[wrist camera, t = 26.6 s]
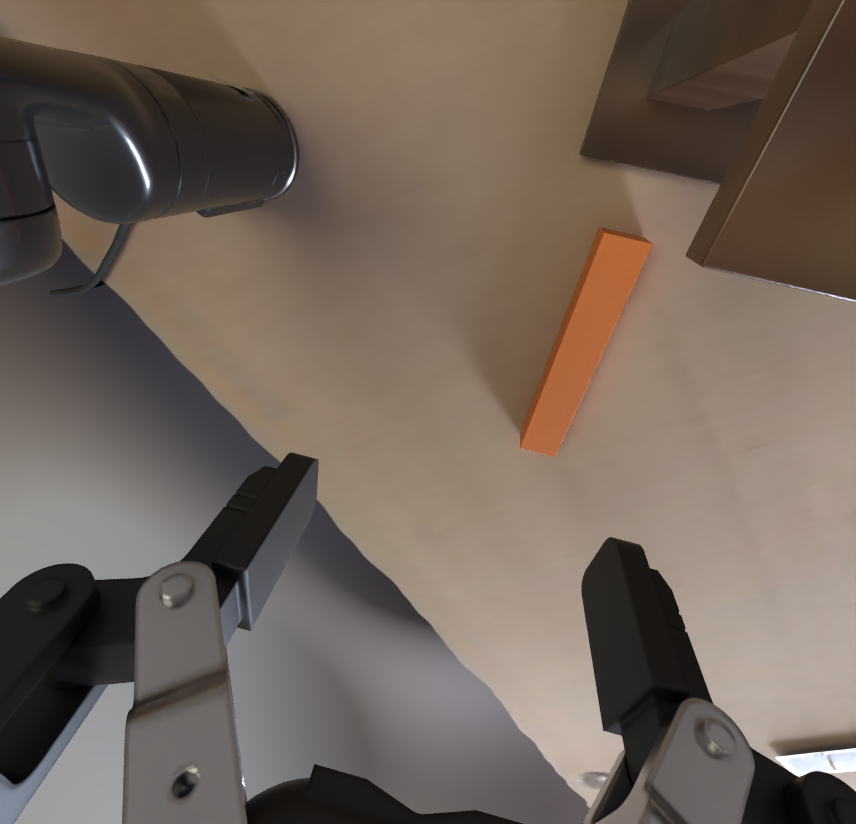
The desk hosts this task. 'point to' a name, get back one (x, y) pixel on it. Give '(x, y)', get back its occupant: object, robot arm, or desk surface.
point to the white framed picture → (820, 762)
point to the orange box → (583, 336)
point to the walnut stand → (745, 128)
